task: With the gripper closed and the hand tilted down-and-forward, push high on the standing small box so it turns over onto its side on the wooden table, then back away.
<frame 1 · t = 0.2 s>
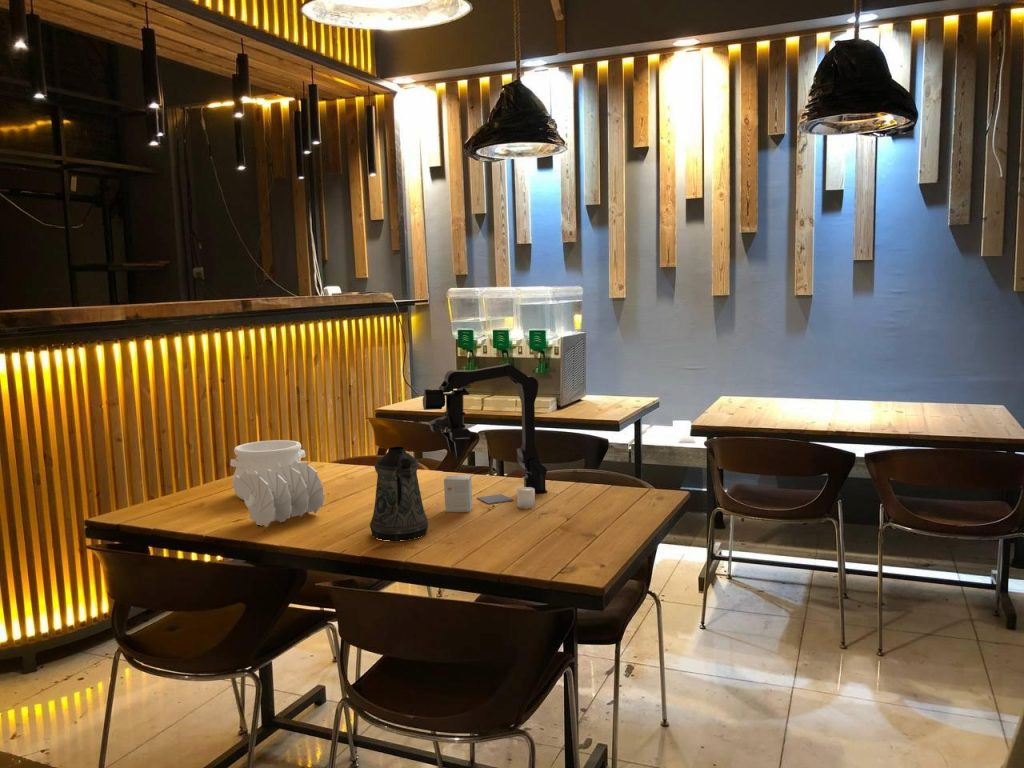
hand: (455, 455, 273), 15 cm above the table, tool pointing down, fingers open, 9 cm apart
small box: (459, 510, 261), on the table
slate coaster: (495, 499, 272), on the table
spiral staircase: (284, 520, 254), on the table
pot: (270, 495, 287), on the table
beer stein: (403, 535, 235), on the table
espresso cup: (526, 506, 263), on the table
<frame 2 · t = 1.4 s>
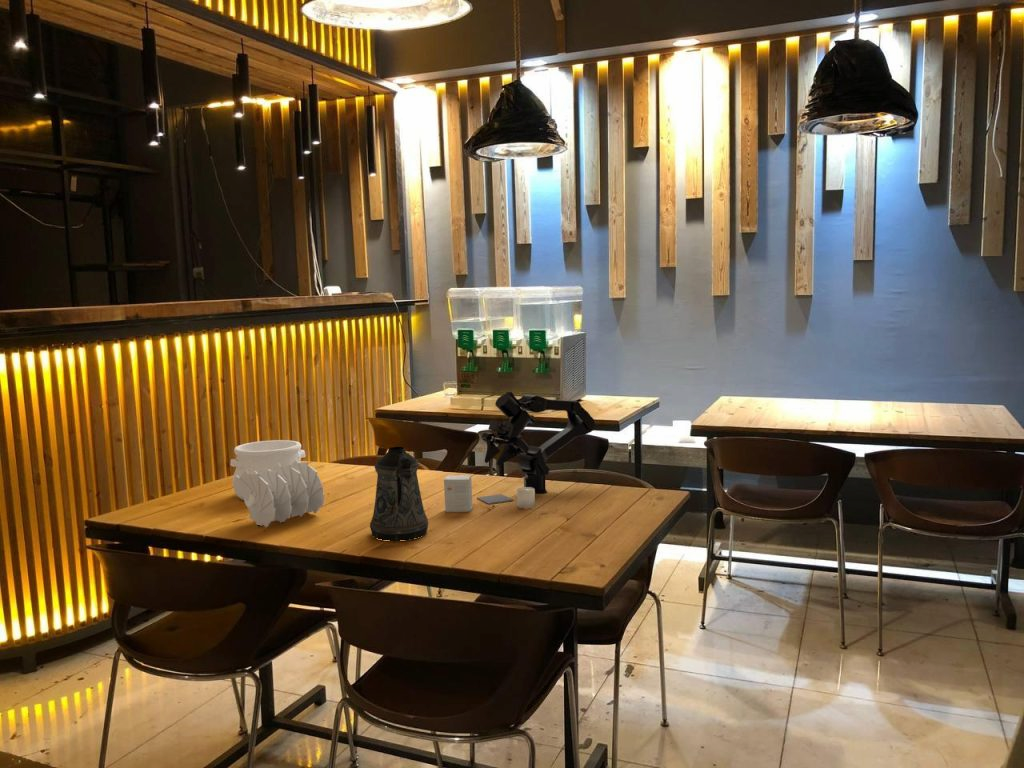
hand: (491, 463, 269), 13 cm above the table, tool tilted 45°, fingers open, 6 cm apart
nothing on the table moved.
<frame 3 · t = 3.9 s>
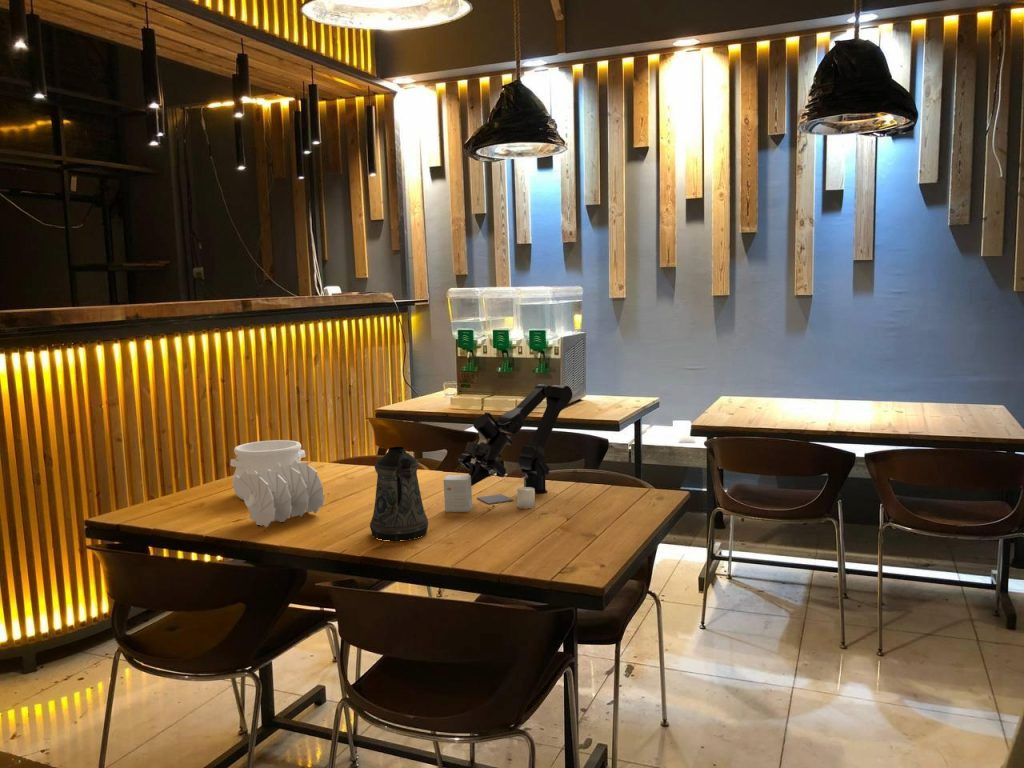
hand: (467, 486, 263), 7 cm above the table, tool tilted 45°, fingers closed
small box: (458, 510, 261), on the table, touching gripper
everything else where it was.
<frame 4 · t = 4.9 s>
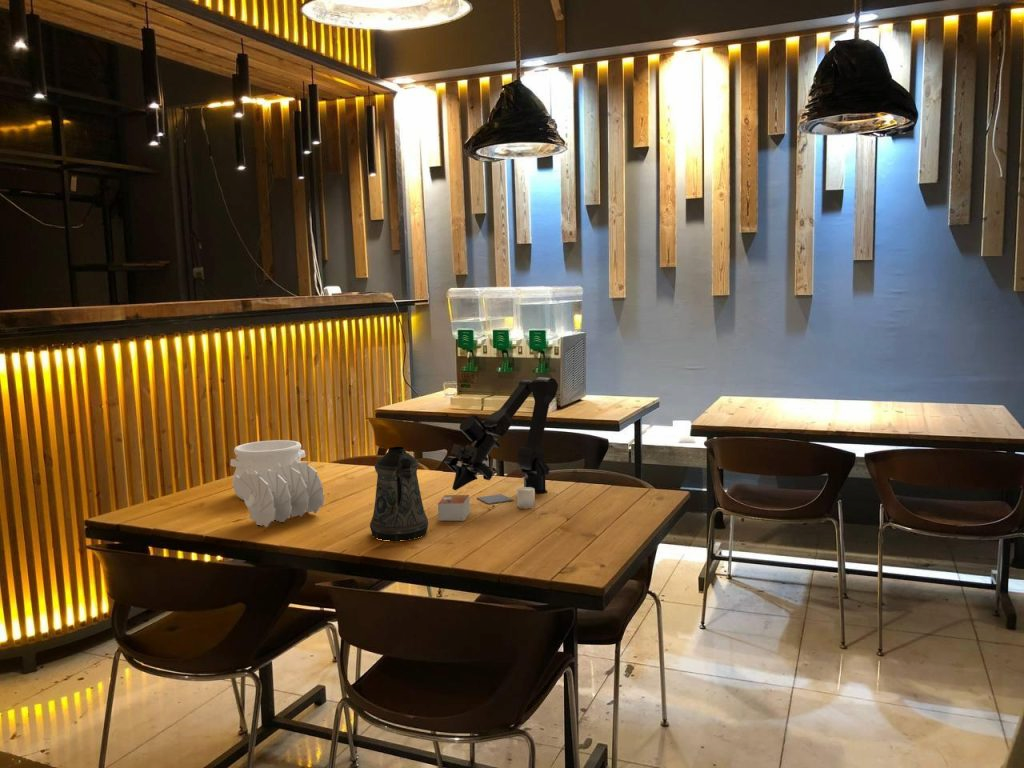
hand: (453, 489, 259), 7 cm above the table, tool tilted 45°, fingers closed
small box: (457, 503, 258), point 3 cm above the table
everything else where it was.
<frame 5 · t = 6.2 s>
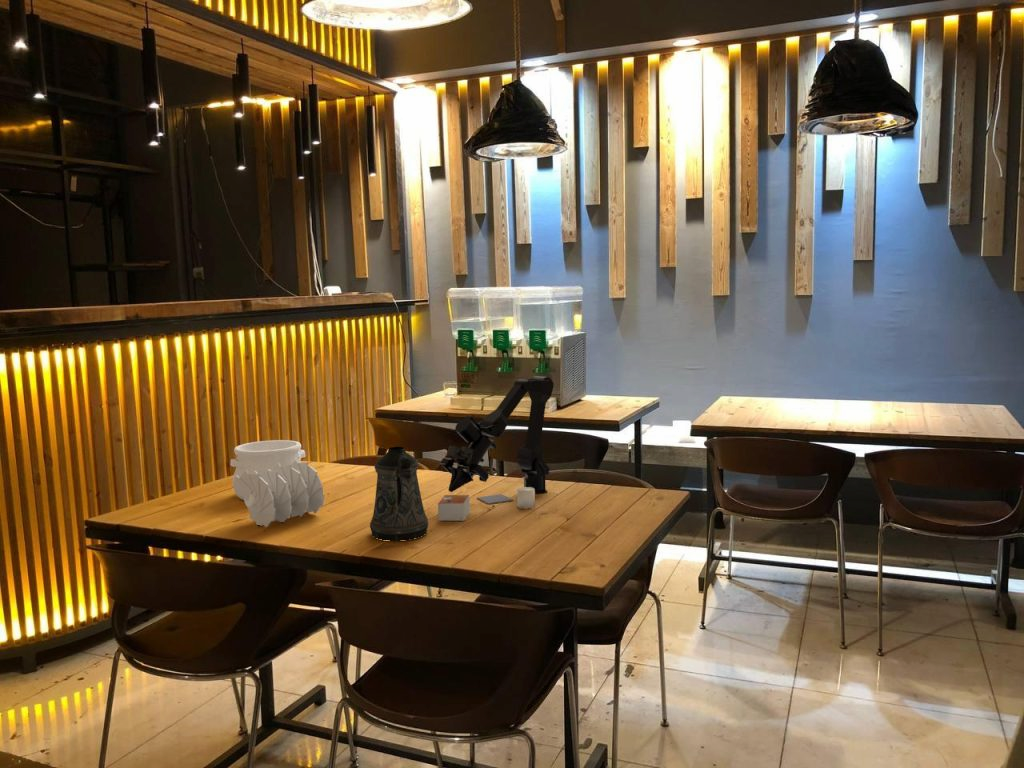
hand: (449, 491, 258), 7 cm above the table, tool tilted 45°, fingers closed
nothing on the table moved.
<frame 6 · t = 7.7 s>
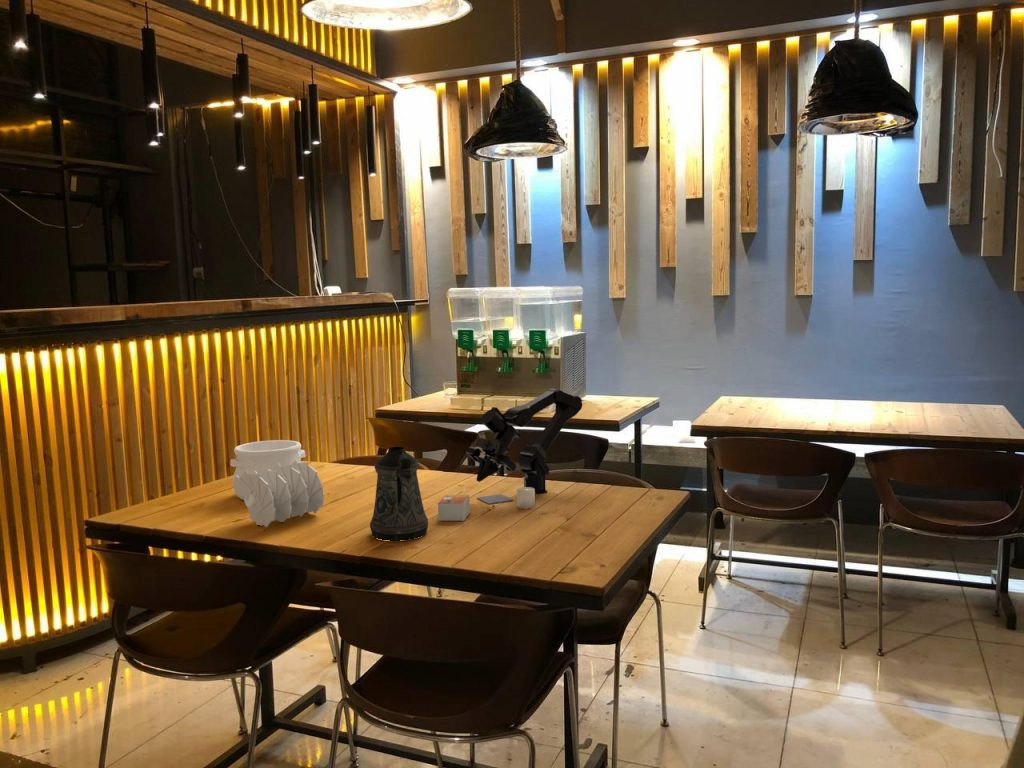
hand: (477, 481, 266), 8 cm above the table, tool tilted 40°, fingers closed
nothing on the table moved.
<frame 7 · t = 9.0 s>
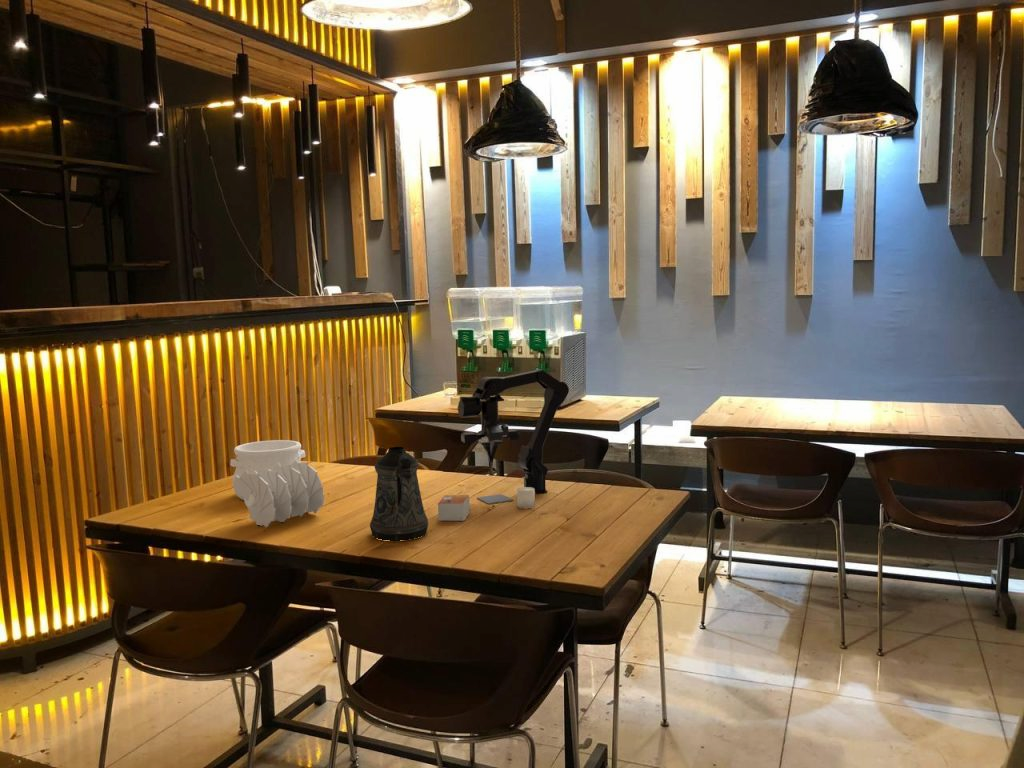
hand: (490, 461, 275), 12 cm above the table, tool pointing down, fingers closed
nothing on the table moved.
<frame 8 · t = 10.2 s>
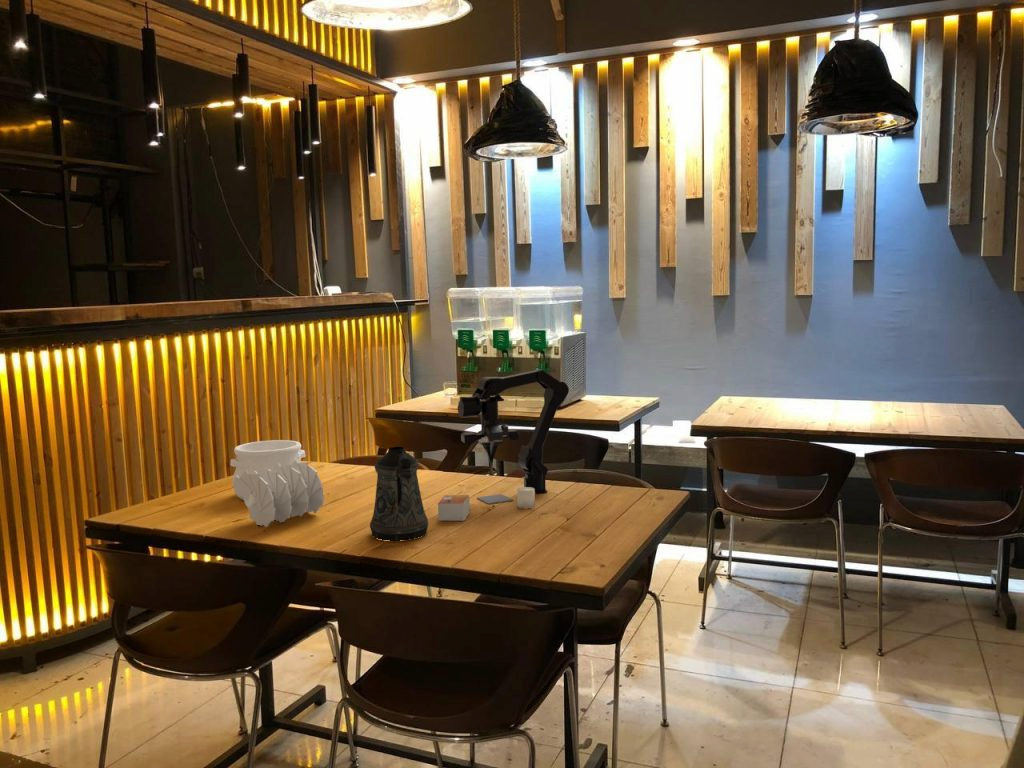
hand: (490, 461, 275), 12 cm above the table, tool pointing down, fingers closed
nothing on the table moved.
at the end: small box tilted 90°; small box inside the target area (8.2 cm from its centre), point 2.7 cm above the table; the gripper is holding nothing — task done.
